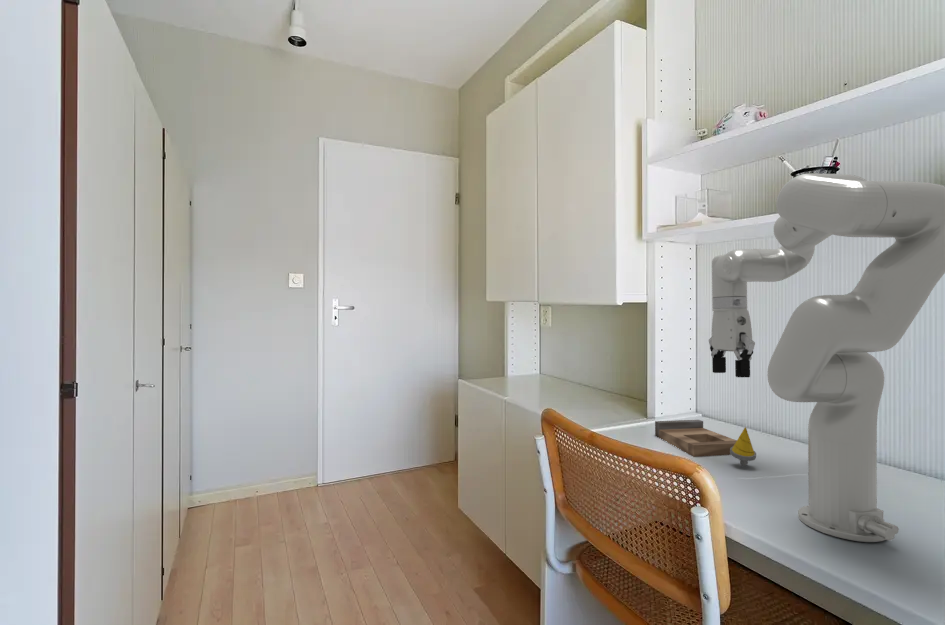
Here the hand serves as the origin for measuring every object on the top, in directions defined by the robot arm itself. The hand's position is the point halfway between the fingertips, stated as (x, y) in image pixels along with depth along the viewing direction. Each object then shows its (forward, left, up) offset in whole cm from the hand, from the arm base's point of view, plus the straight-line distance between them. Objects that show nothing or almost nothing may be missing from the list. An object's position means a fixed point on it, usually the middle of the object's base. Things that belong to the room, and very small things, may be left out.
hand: (730, 374), depth 113 cm
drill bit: (-3, -1, -22) cm, 22 cm away
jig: (+14, -1, -21) cm, 26 cm away
